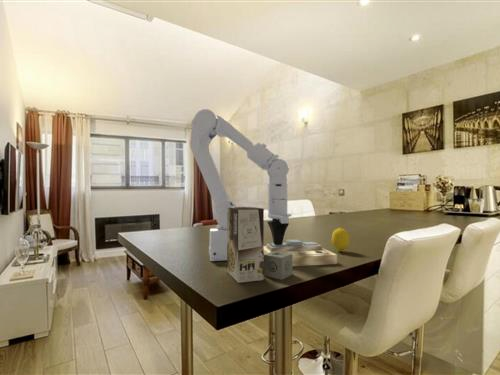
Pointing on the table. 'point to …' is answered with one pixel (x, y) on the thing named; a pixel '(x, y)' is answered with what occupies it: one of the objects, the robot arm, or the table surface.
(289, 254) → the dice cube
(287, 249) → the button board
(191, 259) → the table surface
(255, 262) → the coffee box
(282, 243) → the button left
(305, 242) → the button right
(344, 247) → the lemon
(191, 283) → the table surface
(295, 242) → the button middle
